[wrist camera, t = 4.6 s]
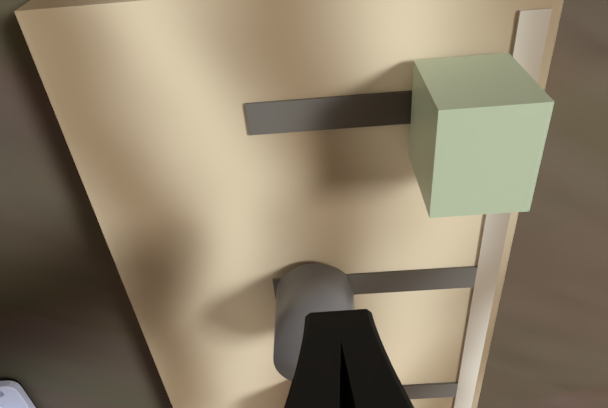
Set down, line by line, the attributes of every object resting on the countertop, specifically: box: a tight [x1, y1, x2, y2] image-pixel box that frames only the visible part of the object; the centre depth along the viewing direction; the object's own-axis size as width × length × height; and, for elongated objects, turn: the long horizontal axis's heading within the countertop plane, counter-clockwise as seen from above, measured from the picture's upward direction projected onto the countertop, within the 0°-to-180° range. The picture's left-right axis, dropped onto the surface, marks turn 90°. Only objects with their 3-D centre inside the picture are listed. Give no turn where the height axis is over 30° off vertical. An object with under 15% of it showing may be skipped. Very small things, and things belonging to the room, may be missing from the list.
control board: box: [14, 0, 564, 408], centre depth 20 cm, size 14×21×2 cm, turn 4°
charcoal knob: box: [273, 263, 355, 381], centre depth 18 cm, size 3×3×3 cm
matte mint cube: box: [409, 53, 554, 218], centre depth 13 cm, size 2×3×3 cm
